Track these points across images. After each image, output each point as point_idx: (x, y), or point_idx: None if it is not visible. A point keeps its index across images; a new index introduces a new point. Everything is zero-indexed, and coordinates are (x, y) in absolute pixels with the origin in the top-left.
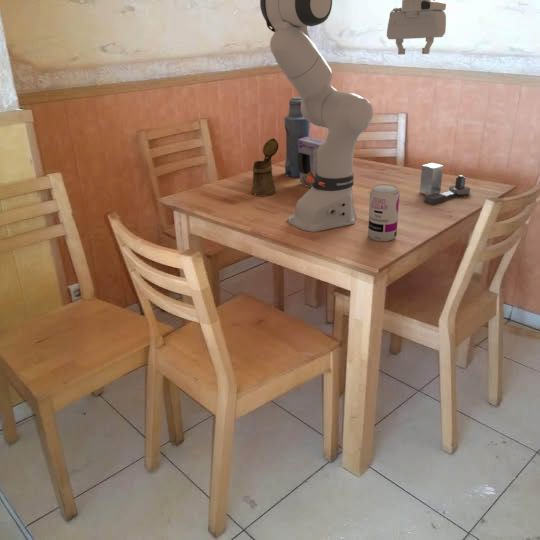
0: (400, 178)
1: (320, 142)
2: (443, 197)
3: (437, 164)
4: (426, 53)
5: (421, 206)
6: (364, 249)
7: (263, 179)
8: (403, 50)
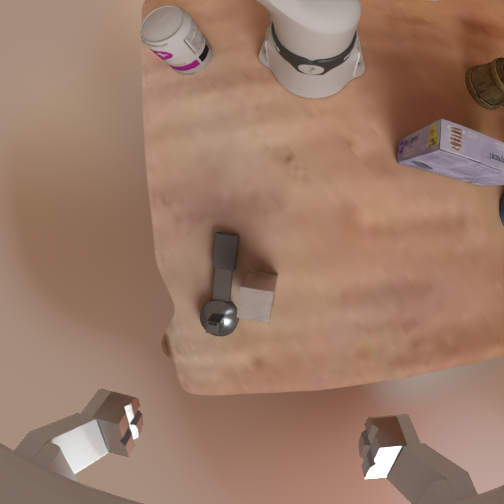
0: (359, 324)
1: (483, 149)
2: (213, 260)
3: (250, 317)
4: (103, 393)
5: (228, 209)
6: None
7: (485, 66)
8: (370, 452)
